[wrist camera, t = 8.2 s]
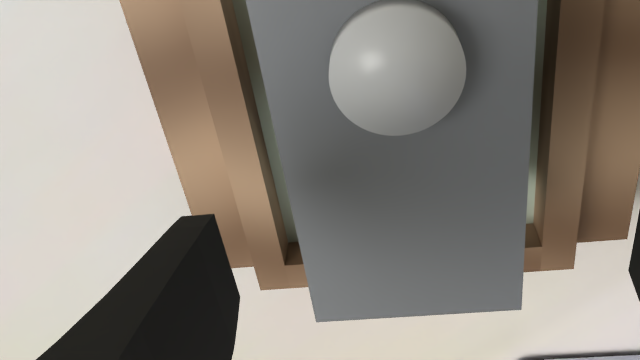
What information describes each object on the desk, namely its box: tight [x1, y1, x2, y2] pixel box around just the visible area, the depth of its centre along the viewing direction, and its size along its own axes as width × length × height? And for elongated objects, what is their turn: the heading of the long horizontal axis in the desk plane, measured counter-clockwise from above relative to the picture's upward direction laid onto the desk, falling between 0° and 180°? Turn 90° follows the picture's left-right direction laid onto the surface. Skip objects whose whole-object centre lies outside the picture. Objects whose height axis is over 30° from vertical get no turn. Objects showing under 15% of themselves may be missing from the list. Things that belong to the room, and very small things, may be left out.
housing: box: [246, 0, 538, 322], centre depth 14 cm, size 9×5×6 cm, turn 9°
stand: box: [120, 0, 640, 290], centre depth 17 cm, size 14×14×3 cm
